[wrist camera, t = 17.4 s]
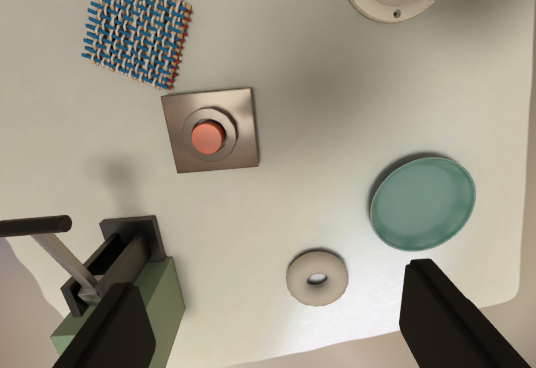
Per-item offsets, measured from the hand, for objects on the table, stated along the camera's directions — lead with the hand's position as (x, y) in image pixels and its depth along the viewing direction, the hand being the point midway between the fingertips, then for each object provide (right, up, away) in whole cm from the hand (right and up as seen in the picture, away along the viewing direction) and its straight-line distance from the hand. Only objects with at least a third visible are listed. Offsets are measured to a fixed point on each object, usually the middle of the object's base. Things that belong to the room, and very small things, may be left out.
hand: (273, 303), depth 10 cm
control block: (-7, +11, +28) cm, 31 cm away
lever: (-21, -4, +21) cm, 30 cm away
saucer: (+22, +2, +32) cm, 39 cm away
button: (-7, +10, +25) cm, 28 cm away
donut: (+8, -11, +37) cm, 39 cm away
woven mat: (-15, +22, +24) cm, 36 cm away
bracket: (-21, -5, +34) cm, 40 cm away
